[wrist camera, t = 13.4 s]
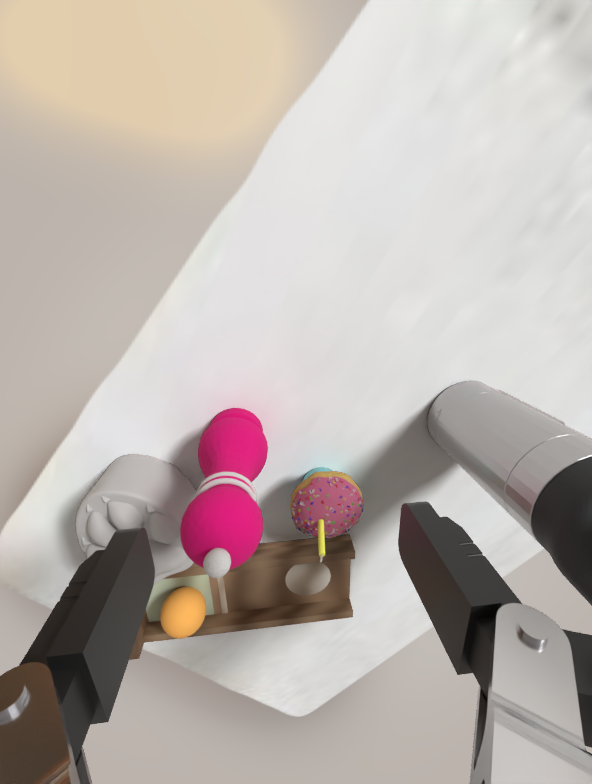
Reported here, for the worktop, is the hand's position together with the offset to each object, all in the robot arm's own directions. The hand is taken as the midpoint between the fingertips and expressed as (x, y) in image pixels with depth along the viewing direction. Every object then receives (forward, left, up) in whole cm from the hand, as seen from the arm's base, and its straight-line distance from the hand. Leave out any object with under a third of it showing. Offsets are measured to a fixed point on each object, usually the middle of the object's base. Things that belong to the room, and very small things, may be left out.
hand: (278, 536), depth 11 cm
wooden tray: (+5, +33, -28) cm, 44 cm away
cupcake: (-6, +18, -28) cm, 34 cm away
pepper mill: (+4, +10, -28) cm, 30 cm away
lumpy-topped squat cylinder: (+15, +18, -28) cm, 37 cm away
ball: (+13, +33, -24) cm, 43 cm away
